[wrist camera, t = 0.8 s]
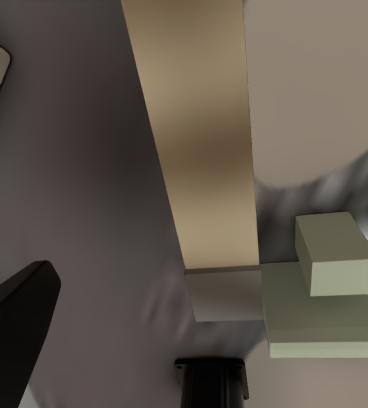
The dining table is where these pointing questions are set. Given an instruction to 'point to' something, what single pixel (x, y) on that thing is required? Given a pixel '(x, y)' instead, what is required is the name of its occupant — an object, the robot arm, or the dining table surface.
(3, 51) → the medicine bottle
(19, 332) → the robot arm
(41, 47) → the dining table surface
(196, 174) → the rail
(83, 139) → the dining table surface
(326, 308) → the grey block
